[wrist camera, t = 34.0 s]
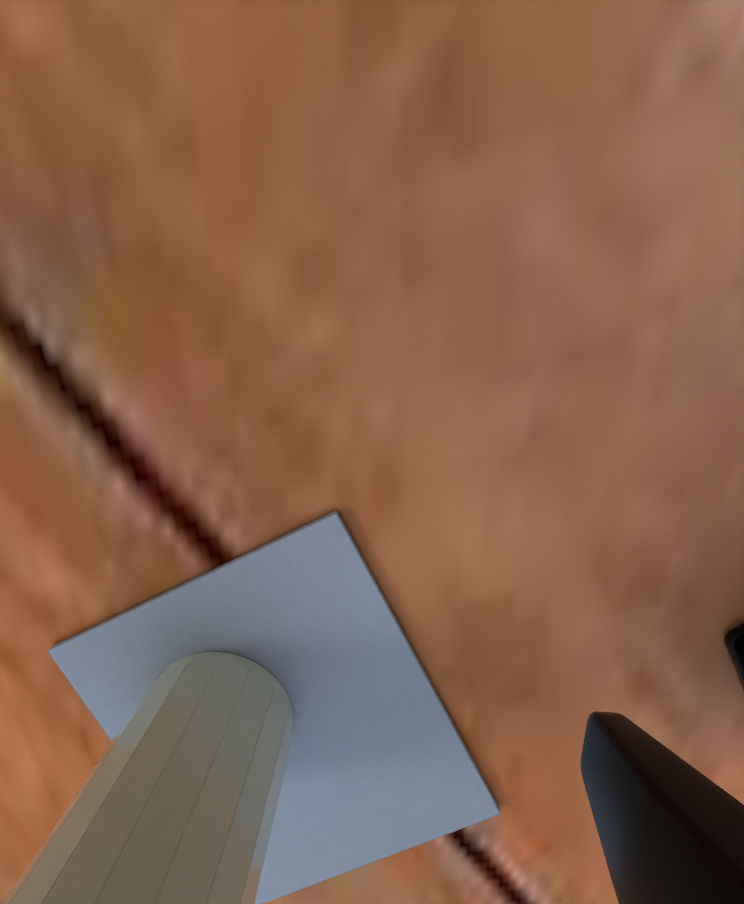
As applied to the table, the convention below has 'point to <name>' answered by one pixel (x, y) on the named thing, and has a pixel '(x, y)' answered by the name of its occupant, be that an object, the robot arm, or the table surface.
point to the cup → (175, 795)
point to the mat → (306, 699)
